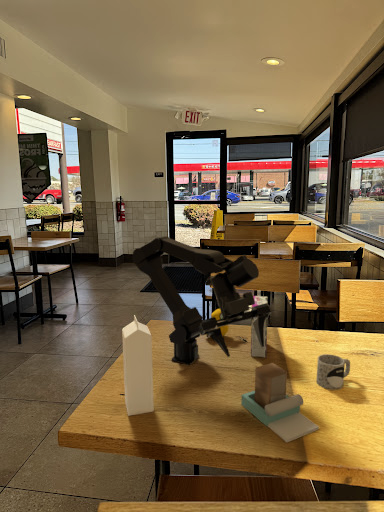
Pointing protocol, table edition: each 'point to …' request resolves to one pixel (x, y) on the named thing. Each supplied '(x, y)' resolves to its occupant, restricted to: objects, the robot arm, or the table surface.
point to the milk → (137, 368)
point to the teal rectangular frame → (281, 416)
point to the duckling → (218, 315)
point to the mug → (331, 371)
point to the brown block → (269, 384)
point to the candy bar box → (255, 345)
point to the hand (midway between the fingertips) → (246, 351)
